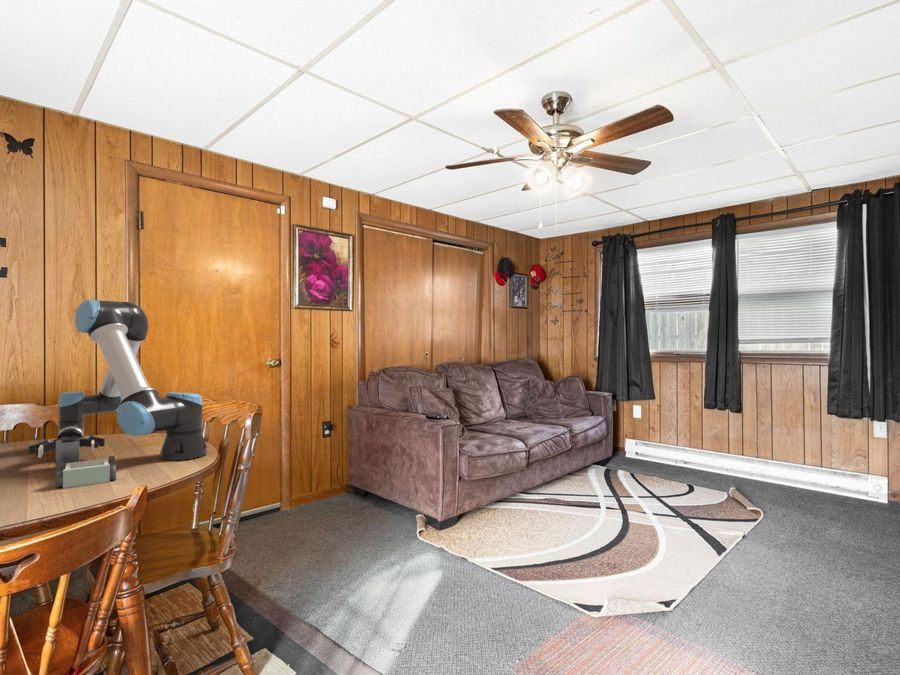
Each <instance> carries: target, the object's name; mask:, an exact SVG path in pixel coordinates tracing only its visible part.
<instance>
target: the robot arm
mask: <svg viewBox="0 0 900 675" xmlns="http://www.w3.org/2000/svg"><path fill="white" fill-rule="evenodd" d="M74 324H75V328H76V330H77V331H78V332H79V333H81V334H88V337H89V339H90V341H91V342H93V343H95V344H98V347H99V348H100V351H101V353H102V355H103V357H104V360H105V362H106V365H107V368H106V372H105V374H104V377H103V380H102V383H101V386H100V389H99V391H98V393H97V394H91V395H85V392H83V391H65V392H61V393H60V394H59V396H58V433H57V436H56V439H53V441H52V440H50V439H48V438H47V439H44V440H43V441H39V442H35V443H34V444H30V445H29V446H28V454H34V455H35V456H36V457H37V456H38V458H39V459H40V458H42V457H43V456H44V455H43V454H44V453H45V452H48V451H51V450H56V442H57V440H62V438H64V437H74V438H80V448H82V447H86V448H91V449H90V451H91V453H94V452H95V449H98V448H99V447H105V446H106V444H105V443H106V442H105V441H106V439H105V438H104V437H103V438H102V437H99V436H94V435H91V434H90V435H89V436H87V438H85V437H84V434H85V416H90V415H96V414H98V415H99V414H105V413H113V412H116V416H117V417H116V419H117V423H118V426H119V427H120V429H121V431H123V433H124V434H127V435H129V436H132V437H140V436H148V435H152V434H156V433H161V432H165V438H164V440H163V442H162V446H161V449H160V451H159V453H160V454H159V459H161V460H162V459H163V461H168V460H180V461H187V460H186V459H189V460H194V459H193V458H195V459H198V458H197V457H199V458H202V457H204V456H203V455H205V454H206V455H207V454H208V446H207V444H206V440H205V438H204V435H203V407H204V406H203V405H204V404H203V396H202V395H201V394H199V393H194V392H193V393H192V392H175V391H174V392H173V391H172V392H170V391H169V392H166V395H165V397H161V395H160V394H159V392H158V389H155V388H153V387H151V386H150V383H149V382H148V379H147V378H146V376H145V373H144V371H143V369H142V367H141V365H140V363H139V361H138V359H137V354H138V351H139V349H140V346H141V344H142V342H144V341H145V340H146V338H147V336H148V333H149V319H148V316H147V314H146V313H145V311H144V310H143V309H142V308H141V307H140V306H139V305H137V304H136V303H133V302H131V301H117V300H116V301H113V300H112V301H111V300H99V299H94V300H93V299H91V300H90V299H87V300H84V301H82V302H80V304H79V305H78V306H77V309H76V312H75V317H74ZM206 455H205V456H206ZM201 456H202V457H201Z"/></svg>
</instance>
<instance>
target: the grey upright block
mask: <svg viewBox="0 0 900 675" xmlns="http://www.w3.org/2000/svg"><path fill="white" fill-rule="evenodd" d="M64 461H66V463H74V462H81V447H80V438H74V437H64V438H62V440H57V442H56V449H55V472H59V462H64Z"/></svg>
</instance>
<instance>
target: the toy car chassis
mask: <svg viewBox="0 0 900 675" xmlns="http://www.w3.org/2000/svg"><path fill="white" fill-rule="evenodd" d="M115 457H116V455H109V456H108V458H103V459H94V460H93V459H92V460H86V461H83V460H82V461H80V462H74V463H66V461H64V462H59V471H57V472H56V471H55V472H56V474H55V488H56V489H57V488H62V489H68V488H75V487H82V486H90V485H91V486H92V485H97V484H105V483H110V481H113V480H114V481H115V480H117V464H116V458H115Z"/></svg>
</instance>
